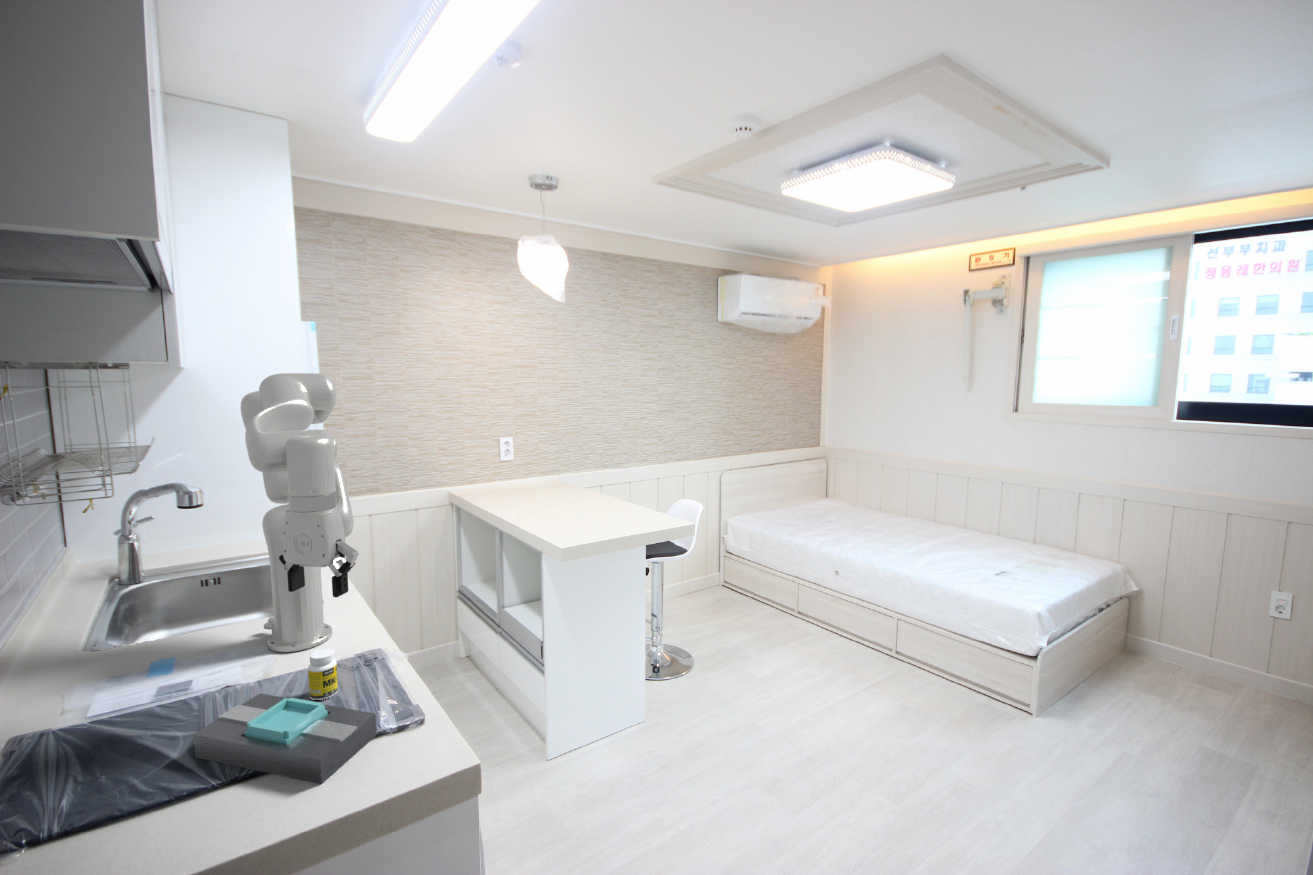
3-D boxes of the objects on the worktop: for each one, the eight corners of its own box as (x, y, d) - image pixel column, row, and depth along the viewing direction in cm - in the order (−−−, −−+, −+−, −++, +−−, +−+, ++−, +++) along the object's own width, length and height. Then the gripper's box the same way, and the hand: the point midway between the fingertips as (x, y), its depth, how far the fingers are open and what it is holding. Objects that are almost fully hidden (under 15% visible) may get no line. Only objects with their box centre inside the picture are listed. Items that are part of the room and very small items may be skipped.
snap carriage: (245, 743, 93) (243, 725, 93) (288, 713, 101) (286, 696, 101) (287, 752, 91) (286, 733, 91) (328, 721, 99) (327, 703, 99)
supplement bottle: (325, 703, 108) (322, 660, 107) (303, 699, 109) (300, 657, 108) (343, 689, 113) (341, 648, 112) (322, 686, 114) (320, 645, 113)
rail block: (195, 757, 93) (193, 732, 93) (261, 713, 105) (259, 691, 104) (321, 784, 88) (319, 757, 87) (376, 735, 100) (375, 711, 99)
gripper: (256, 503, 105) (262, 594, 107) (337, 510, 101) (343, 604, 103) (291, 494, 112) (296, 580, 114) (368, 501, 108) (372, 589, 110)
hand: (318, 591), depth 108 cm, fingers open, 9 cm apart
